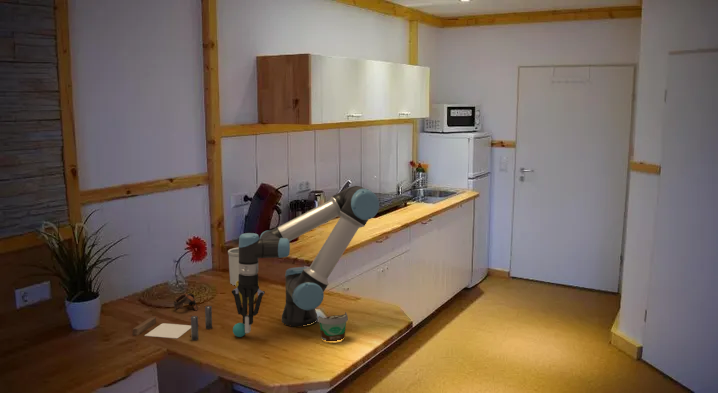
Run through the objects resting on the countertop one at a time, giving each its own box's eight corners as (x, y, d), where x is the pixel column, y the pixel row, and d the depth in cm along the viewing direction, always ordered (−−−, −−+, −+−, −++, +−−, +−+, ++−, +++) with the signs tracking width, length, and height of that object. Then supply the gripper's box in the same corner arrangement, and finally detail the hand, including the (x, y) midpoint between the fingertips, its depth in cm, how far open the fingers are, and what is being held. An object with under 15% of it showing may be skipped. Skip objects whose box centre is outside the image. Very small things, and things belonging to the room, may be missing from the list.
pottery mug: (195, 314, 258) (185, 299, 255) (178, 322, 260) (167, 307, 257) (203, 299, 269) (194, 285, 266) (187, 307, 271) (177, 293, 269)
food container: (324, 346, 222) (324, 321, 220) (317, 341, 227) (317, 316, 226) (353, 341, 227) (353, 316, 226) (346, 336, 233) (346, 311, 231)
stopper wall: (155, 323, 245) (155, 317, 245) (137, 335, 231) (137, 329, 231) (151, 322, 245) (151, 317, 245) (132, 334, 232) (132, 328, 231)
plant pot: (254, 297, 281) (253, 277, 280) (262, 303, 273) (261, 282, 271) (233, 300, 276) (232, 280, 275) (240, 306, 267) (240, 285, 266)
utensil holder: (224, 285, 300) (223, 252, 298) (234, 278, 314) (234, 246, 312) (251, 287, 298) (251, 253, 295) (261, 279, 312) (260, 247, 310)
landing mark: (193, 326, 242) (193, 325, 242) (177, 338, 228) (177, 338, 228) (162, 323, 244) (162, 323, 244) (144, 335, 231) (144, 335, 231)
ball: (249, 334, 233) (248, 321, 232) (244, 339, 228) (243, 326, 227) (236, 333, 234) (235, 320, 233) (230, 338, 229) (230, 325, 228)
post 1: (199, 338, 229) (198, 316, 228) (196, 340, 226) (195, 318, 225) (193, 337, 229) (192, 315, 228) (190, 340, 227) (189, 317, 225)
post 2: (213, 327, 241) (212, 306, 240) (210, 329, 238) (209, 308, 237) (207, 326, 241) (206, 305, 240) (204, 328, 239) (203, 307, 238)
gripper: (228, 274, 224) (228, 333, 227) (261, 277, 222) (260, 336, 225) (235, 269, 231) (235, 327, 234) (267, 272, 229) (266, 330, 232)
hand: (247, 331), depth 230 cm, fingers closed
